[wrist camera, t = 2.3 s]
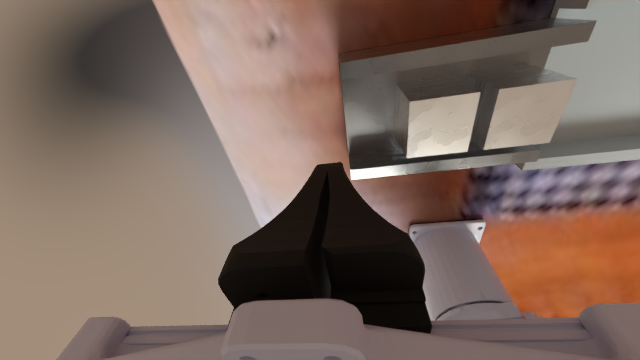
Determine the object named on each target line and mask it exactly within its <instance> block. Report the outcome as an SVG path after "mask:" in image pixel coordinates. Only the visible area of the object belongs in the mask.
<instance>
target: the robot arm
mask: <svg viewBox="0 0 640 360" xmlns="http://www.w3.org/2000/svg"><path fill="white" fill-rule="evenodd" d="M485 225H486V223H485V222H484V220H470V221H456V222H442V223H428V224H414V225H411V226H410V228H409V235H408V234H407V233H405V232H403V231H402V230H400V229H398V228H397V227H395V226H393V225H392V224H390V223H389V222H388V221H386V220H385V219H384V218H383V217H381V216H380V215H379V214H378V213H377V212H375V211H374V210H373V209H372V208H371V207H370V206H369V205H368V204H367V203H366V202H365V201H364V200H363V199H362V197H361V196H360V195H359V194H358V192H357V191H356V190H355V188H354V187H353V185H352V184H351V182H350V180H349V179H348V177H347V175H346V173H345V171H344V168H343V164H342V163H341V162H338V163H329V164H320V165H317V166H316V167H315V169H314V171H313V172H312V174H311V176H310V177H309V179H308V180H307V182H306V183H305V185H304V186H303V188H302V189H301V190H300V192H299V193H298V194H297V196H296V197H295V198H294V199H293V200H292V202H291V203H290V204H289V205H288V206H287V207H286V208H285V209H284V210H283V211H282V212H281V213H280V214H278V215H277V216H276V217H275V218H274V219H273V220H272V221H270V222H269V223H268V224H266V225H265V226H264V227H262V228H261V229H260V230H258V231H257V232H255V233H254V234H252V235H251V236H249V237H247V238H246V239H244V240H242V241H241V242H239V243H237V244H236V245H234V246H233V247H232V249H231V251H230V253H229V255H228V257H227V259H226V262H225V264H224V266H223V269H222V271H221V274H220V276H219V278H218V284H219V286H220V288H221V290H222V292H223V293H224V294H225V296H226V297H227V298H228V300H229V301H230V302H231V304H232V305H233V306H234V309H233V312H232V315H231V318H230V321H229V324H228V325H192V326H145V327H144V326H142V327H130V325H129V324H128V323H127V322H126V321H125V320H122V319H120V318H117V317H92V318H89V319H88V320H87V321H86V323H85V324H84V325H83V326H82V328H81V329H80V330H79V332H78V333H77V334H76V335H75V337H74V338H73V339H72V341H71V342H70V343H69V344H68V346H67V347H66V348H65V349H64V351H63V352H62V353H61V354H60V356H59V357H58V358H57V360H640V303H613V304H596V305H592V306H589V307H587V308H585V309H584V310H583V311H582V312H581V313H580V315H579V317H578V318H543V317H541V316H539V315H537V314H534V313H533V312H531V311H527V312H523V313H524V315H525V317H526V318H525V317H524V315H523V314H522V313H521V311H520V310H519V308H518V307H517V306H516V304H515V303H514V302H513V300H512V298H511V297H510V295H509V293H508V292H507V290H506V288H505V287H504V285H503V283H502V282H501V280H500V278H499V277H498V275H497V273H496V272H495V270H494V268H493V267H492V265H491V263H490V262H489V260H488V258H487V257H486V255H485V254H484V252H483V250H482V249H481V247H480V245H479V243H480V240H481V237H482V234H483V231H484V228H485ZM414 231H415V232H414Z"/></svg>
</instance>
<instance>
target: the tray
mask: <svg viewBox="0 0 640 360" xmlns="http://www.w3.org/2000/svg"><path fill="white" fill-rule="evenodd" d="M550 18H564V19H581V20H597V22H596V24H595V27H594V29H593V31H592V34H591V36H590V38H589V41H588V42H581V43H575V44H569V45H562V46H556V47H552V48H551V50H550V53H549V56H548V59H547V62H546V65H545V67H544V69H548V70H551V71H554V72H558V73H561V74H564V75H568V76H571V77H574V78H577V81H576V84H575V86H574V88H573V90H572V93H571V95H570V97H569V100H568V102H567V104H566V106H565V109H564V111H563V113H562V115H561V118H560V120H559V122H558V125H557V127H556V129H555V131H554V134H553V136H552V138H551V141H550V143H543V144H534V145H536V146H537V147H538V148H540V149H541V150H542V151H541V153H540V156H539V158H538V160H537V162H527V163H517V164H515V165H517V166H518V167H519V168H520V169H521V170H532V169H543V168H553V167H564V166H574V165H585V164H595V163H606V162H616V161H627V160H637V159H640V0H556V2H555V5H554V8H553V11H552V14H551V17H550Z"/></svg>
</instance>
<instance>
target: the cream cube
mask: <svg viewBox="0 0 640 360" xmlns="http://www.w3.org/2000/svg"><path fill="white" fill-rule="evenodd" d="M480 94H481V92H480V91H478V90H477V89H475V88H473V87H472V86H470V85H468V84H467V83H465V82H463V81H462V80H460V79H458V78H456V77H455V76H448V77H441V78H435V79H428V80H421V81H415V82H408V83H401V84H396V115H395V135H396V137H397V139H398V141H399V143H400V145H401V147H402V149H403V152H404V154H405V156H406V158H413V157H423V156H432V155H441V154H450V153H460V152H468V147H469V143H470V138H471V134H472V129H473V125H474V120H475V116H476V111H477V107H478V102H479V98H480Z"/></svg>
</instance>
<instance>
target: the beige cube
mask: <svg viewBox="0 0 640 360" xmlns="http://www.w3.org/2000/svg"><path fill="white" fill-rule="evenodd" d="M576 81H577V78H574V77H571V76H568V75H564V74H561V73H558V72H554V71H551V70H548V69H544V68H541V67H538V66H534V65H531V64H529V65H522V66H515V67H509V68H502V69H495V70H488V71H482V72H475V73H468V78H467V84H468V85H470V86H472V87H473V88H475V89H477V90H478V91H480V92H481V94H480V98H479V102H478V107H477V111H476V116H475V120H474V125H473V129H472V134H471V138H472V139H473V140H474V141H475V142H476V143H477V144H478V145H479V146H480V147H481V148H482V149H483V150H487V149H497V148H506V147H515V146H524V145H534V144H543V143H550V141H551V138H552V136H553V134H554V131H555V129H556V127H557V125H558V122H559V120H560V118H561V115H562V113H563V111H564V109H565V106H566V104H567V102H568V100H569V97H570V95H571V93H572V90H573V88H574V86H575V84H576Z"/></svg>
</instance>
